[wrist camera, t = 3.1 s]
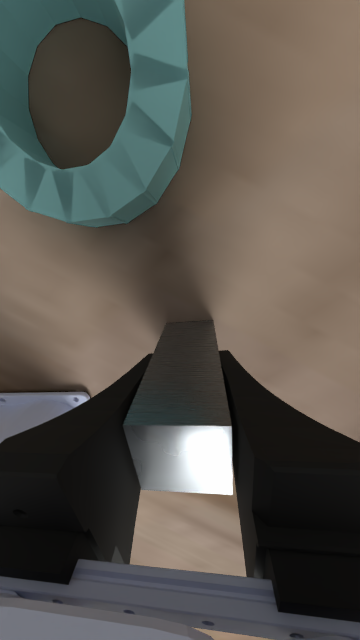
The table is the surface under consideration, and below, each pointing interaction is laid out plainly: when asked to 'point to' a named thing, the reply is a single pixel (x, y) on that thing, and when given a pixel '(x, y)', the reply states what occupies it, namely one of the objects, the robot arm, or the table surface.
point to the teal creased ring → (137, 126)
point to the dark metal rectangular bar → (182, 415)
